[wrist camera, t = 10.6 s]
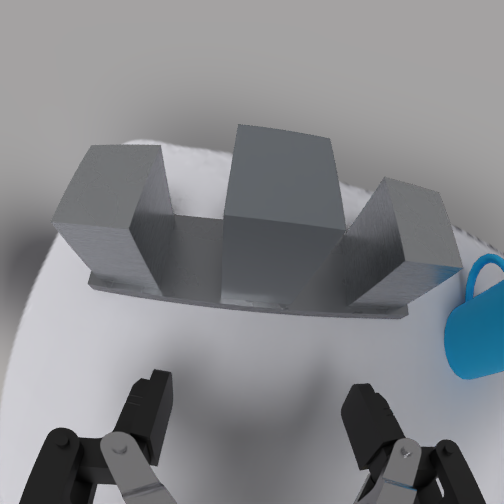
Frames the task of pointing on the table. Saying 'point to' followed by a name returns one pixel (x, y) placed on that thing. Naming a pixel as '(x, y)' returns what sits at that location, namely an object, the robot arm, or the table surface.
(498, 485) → the table surface
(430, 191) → the rail
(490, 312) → the mug
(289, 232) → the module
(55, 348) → the table surface
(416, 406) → the table surface
